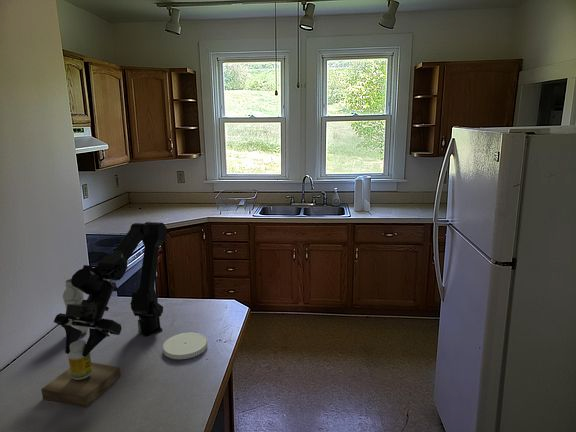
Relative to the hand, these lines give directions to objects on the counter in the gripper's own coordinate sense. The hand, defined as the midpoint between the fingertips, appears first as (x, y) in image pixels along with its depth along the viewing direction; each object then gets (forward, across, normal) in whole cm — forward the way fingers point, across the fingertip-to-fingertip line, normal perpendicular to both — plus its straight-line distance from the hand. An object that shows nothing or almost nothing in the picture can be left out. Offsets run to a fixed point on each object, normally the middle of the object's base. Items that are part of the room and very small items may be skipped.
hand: (75, 354), depth 113 cm
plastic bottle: (-11, -24, +27) cm, 37 cm away
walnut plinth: (+7, 0, +8) cm, 11 cm away
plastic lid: (-10, +18, +26) cm, 34 cm away
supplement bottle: (+4, 0, +6) cm, 7 cm away
